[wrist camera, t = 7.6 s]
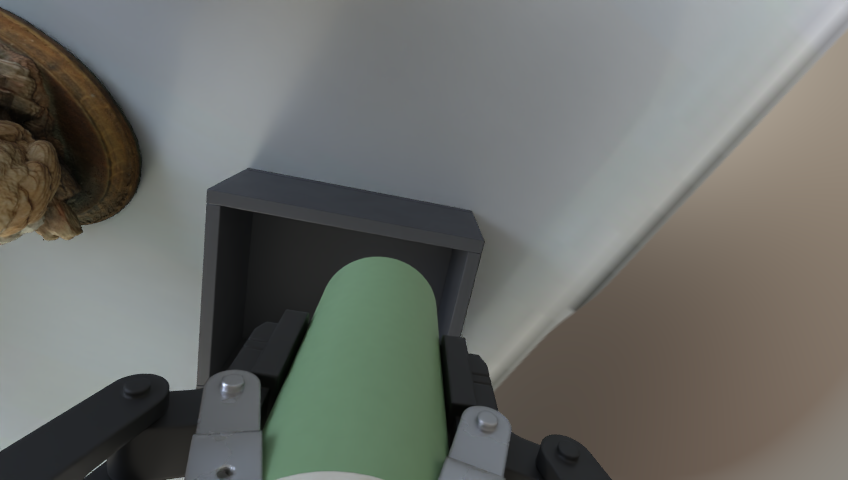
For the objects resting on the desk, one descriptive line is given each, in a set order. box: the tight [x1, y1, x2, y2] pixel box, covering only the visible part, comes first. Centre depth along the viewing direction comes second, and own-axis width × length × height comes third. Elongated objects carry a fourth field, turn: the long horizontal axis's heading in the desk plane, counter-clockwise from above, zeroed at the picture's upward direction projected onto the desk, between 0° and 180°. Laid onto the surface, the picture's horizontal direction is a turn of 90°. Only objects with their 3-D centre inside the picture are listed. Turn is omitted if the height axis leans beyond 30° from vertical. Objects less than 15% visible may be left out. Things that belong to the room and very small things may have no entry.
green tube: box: [262, 257, 449, 480], centre depth 13 cm, size 5×5×11 cm
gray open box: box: [196, 168, 485, 389], centre depth 31 cm, size 14×16×7 cm
